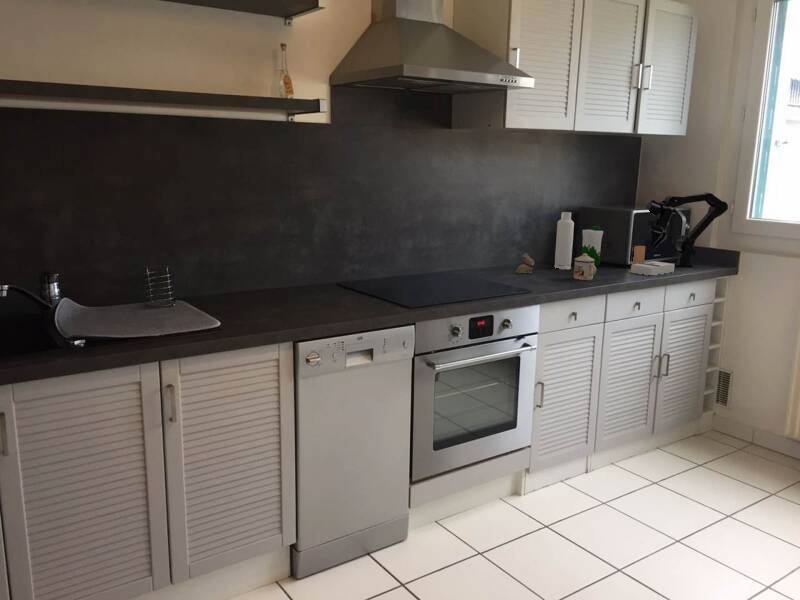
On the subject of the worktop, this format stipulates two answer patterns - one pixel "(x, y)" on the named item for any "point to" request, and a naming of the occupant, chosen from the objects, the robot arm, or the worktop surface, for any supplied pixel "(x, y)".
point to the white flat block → (652, 268)
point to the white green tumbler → (592, 243)
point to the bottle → (564, 241)
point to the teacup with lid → (584, 268)
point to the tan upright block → (639, 254)
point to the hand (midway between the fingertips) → (652, 247)
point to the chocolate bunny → (526, 265)
